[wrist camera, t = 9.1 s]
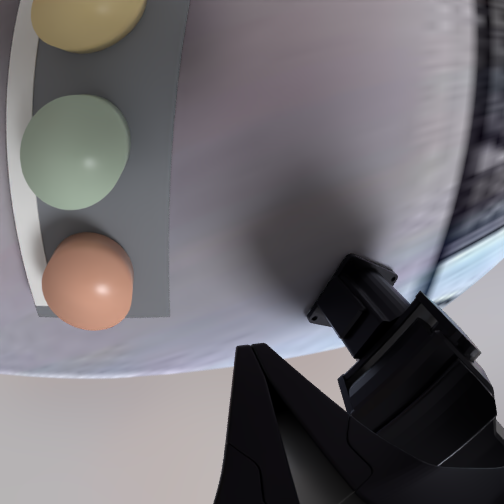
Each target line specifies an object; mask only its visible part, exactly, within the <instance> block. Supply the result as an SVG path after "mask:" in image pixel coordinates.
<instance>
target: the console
mask: <svg viewBox="0 0 504 504" xmlns="http://www.w3.org/2000/svg"><path fill="white" fill-rule="evenodd" d="M32 3H33V0H20V2H19V7H18V11H17V16H16V20H15V26H14V31H13V37H12V43H11V50H10V58H9V67H8V78H7V93H6V151H7V166H8V177H9V187H10V195H11V202H12V209H13V216H14V221H15V227H16V232H17V238H18V242H19V247H20V252H21V256H22V260H23V264H24V268H25V272H26V276H27V280H28V283H29V287H30V290H31V294H32V297H33V300H34V303H35V307H36V310H37V313H38V316H39V317H58V316H57V315H56V314H55V313H54V312H53V311H52V310H51V309H50V307H49V306H48V304H47V302H46V300H45V298H44V295H43V292H42V276H43V273H44V270H45V268H46V266H47V264H48V262H49V261H50V259H51V257H52V255H53V253H54V251H55V249H56V248H57V246H58V245H59V244H60V243H61V242H62V241H63V240H64V239H66V238H67V237H69V236H71V235H74V234H77V233H82V232H92V233H98V234H101V235H104V236H106V237H109V238H110V239H112V240H114V241H115V242H116V243H118V244H119V245H120V246H121V247H122V248H123V249H124V250H125V252H126V253H127V255H128V256H129V258H130V260H131V262H132V266H133V270H134V281H133V292H132V302H131V307H130V310H129V312H128V314H127V315H126V316H125V318H145V317H170V300H169V202H170V177H171V158H172V143H173V129H174V117H175V107H176V97H177V87H178V78H179V70H180V62H181V55H182V48H183V41H184V34H185V28H186V22H187V16H188V10H189V4H190V0H147V3H146V7H145V10H144V12H143V15H142V17H141V18H140V20H139V22H138V23H137V24H136V26H135V27H134V28H133V29H132V30H131V32H130V33H128V34H127V35H126V36H125V37H124V38H123V39H121V40H120V41H119V42H117V43H115V44H114V45H112V46H110V47H108V48H106V49H103V50H100V51H97V52H93V53H85V54H78V53H71V52H68V51H65V50H62V49H59V48H57V47H54V46H51V45H49V44H47V43H45V42H44V41H42V40H41V39H40V38H39V37H38V35H37V34H36V33H35V31H34V29H33V26H32V22H31V8H32ZM82 94H90V95H96V96H100V97H103V98H105V99H107V100H108V101H110V102H112V103H113V104H114V105H115V106H116V107H117V108H118V109H119V110H120V111H121V112H122V114H123V116H124V117H125V119H126V121H127V124H128V127H129V130H130V136H131V147H130V154H129V158H128V161H127V163H126V165H125V167H124V170H123V171H122V173H121V175H120V177H119V179H118V181H117V183H116V184H115V186H114V187H113V189H112V190H111V191H110V192H109V193H108V194H107V195H106V196H105V197H104V198H103V199H101V200H100V201H99V202H97V203H95V204H94V205H92V206H89V207H86V208H83V209H78V210H64V209H58V208H55V207H52V206H50V205H48V204H46V203H45V202H43V201H42V200H41V199H39V198H38V197H37V196H36V195H35V194H34V193H33V192H32V190H31V189H30V187H29V186H28V184H27V182H26V180H25V178H24V176H23V173H22V169H21V163H20V147H21V141H22V137H23V134H24V132H25V129H26V127H27V125H28V123H29V122H30V120H31V119H32V117H33V116H34V115H35V114H36V113H37V112H38V111H39V110H40V109H41V108H42V107H43V106H44V105H46V104H47V103H49V102H51V101H53V100H55V99H57V98H60V97H63V96H69V95H82Z"/></svg>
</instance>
